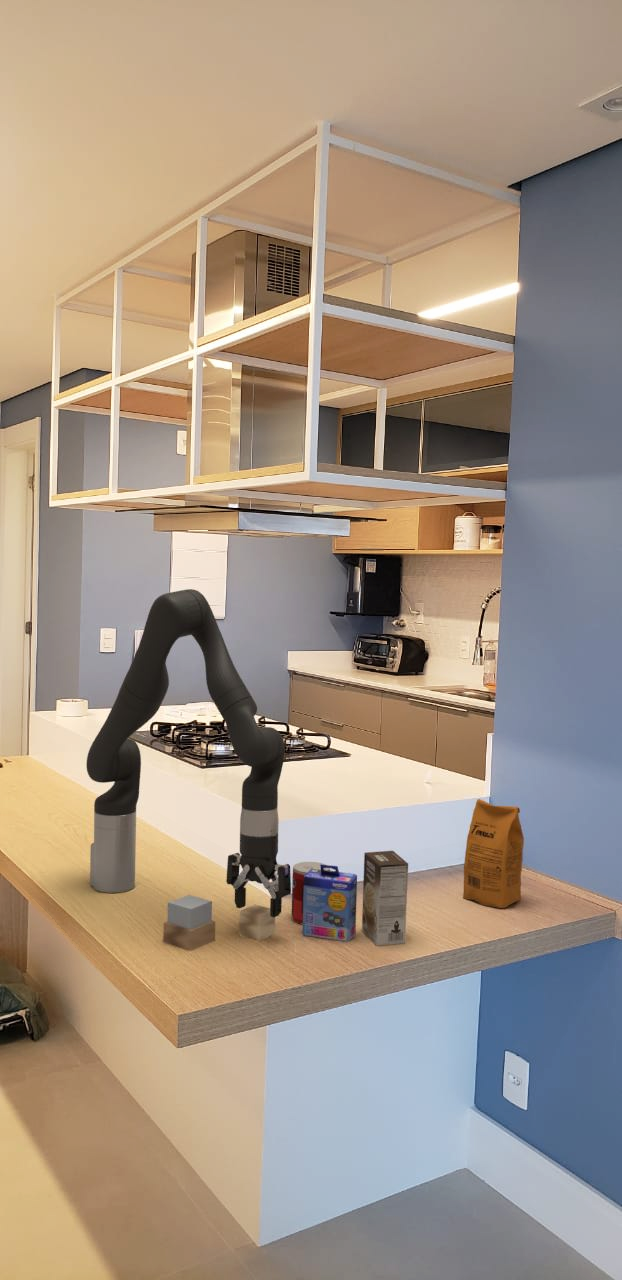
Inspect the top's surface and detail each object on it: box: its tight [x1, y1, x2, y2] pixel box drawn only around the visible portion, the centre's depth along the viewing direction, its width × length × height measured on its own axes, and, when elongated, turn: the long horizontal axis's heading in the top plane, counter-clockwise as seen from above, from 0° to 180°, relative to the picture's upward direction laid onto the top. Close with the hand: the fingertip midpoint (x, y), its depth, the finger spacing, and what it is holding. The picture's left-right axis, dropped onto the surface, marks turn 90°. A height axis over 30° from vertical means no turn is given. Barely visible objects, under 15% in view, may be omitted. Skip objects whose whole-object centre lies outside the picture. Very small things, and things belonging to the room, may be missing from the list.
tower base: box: [162, 919, 216, 951], centre depth 192 cm, size 7×7×4 cm
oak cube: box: [238, 904, 276, 942], centre depth 196 cm, size 5×5×5 cm
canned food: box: [291, 861, 331, 925], centre depth 206 cm, size 8×8×11 cm
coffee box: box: [361, 850, 409, 946], centre depth 197 cm, size 9×6×16 cm
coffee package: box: [462, 798, 525, 909], centre depth 221 cm, size 10×12×22 cm
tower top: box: [166, 894, 213, 930], centre depth 192 cm, size 6×6×4 cm
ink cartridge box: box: [301, 864, 358, 942], centre depth 197 cm, size 10×6×14 cm, turn 73°
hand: (257, 911), depth 196 cm, fingers open, 8 cm apart
